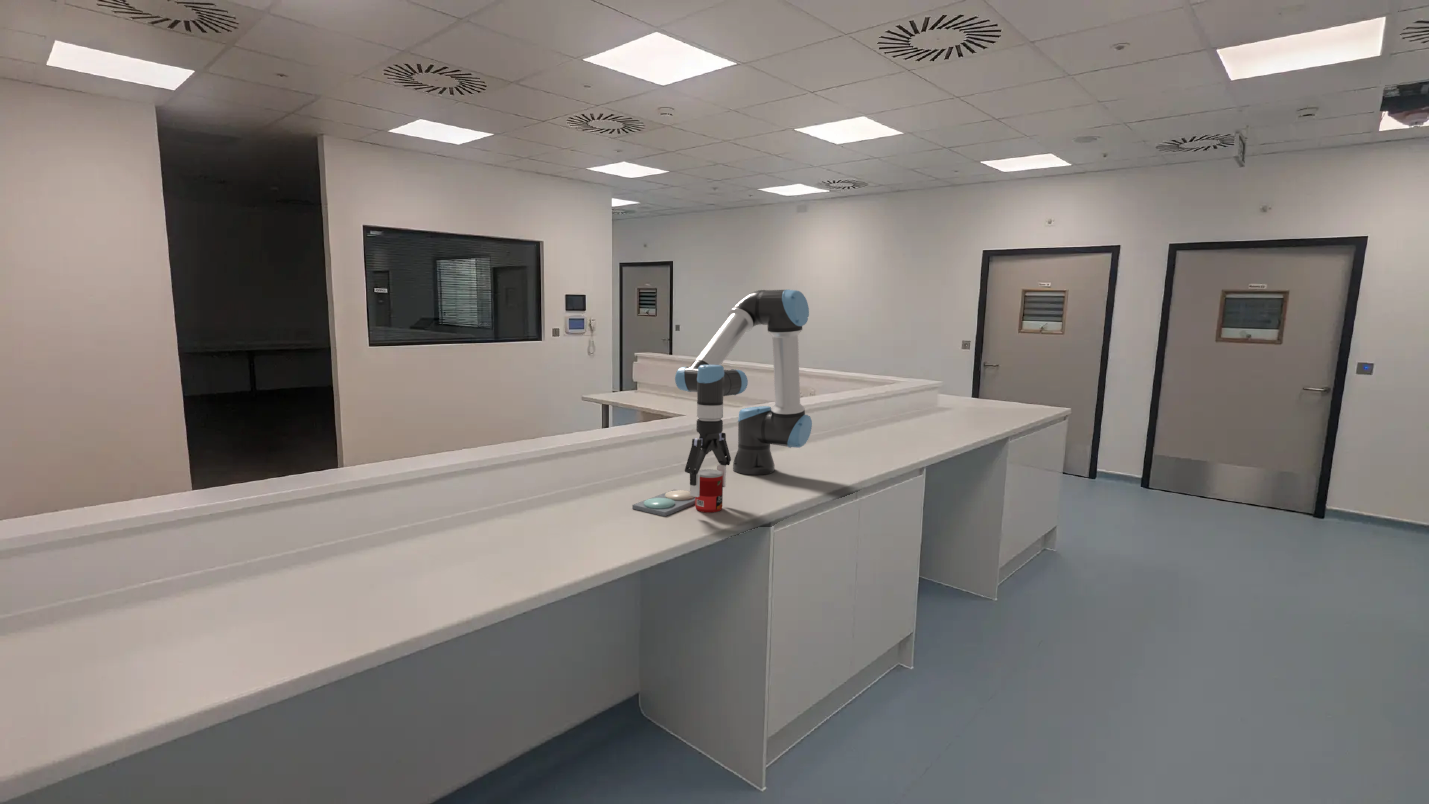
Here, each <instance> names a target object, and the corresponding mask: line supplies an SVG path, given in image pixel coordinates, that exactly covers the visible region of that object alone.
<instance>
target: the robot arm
mask: <svg viewBox="0 0 1429 804" xmlns="http://www.w3.org/2000/svg"><path fill="white" fill-rule="evenodd" d="M809 316H810V308H809V302H808V300H807V298H806V296H805V295H804V293H802V292H801V291H800V290H797V289H759V290H756V291H755V290H754V291H753V292H750V293H749V294H747V295H745V296H743V297H742V298H741V299H739V300H738V301H737V302H736V303H735V304H734V305H733V306H732V307H731V309H730V310H728V313H727V316H726V317H727V318H726V320H725V321H724V322H723V324H722V325H721V326H720V327H719V329H718V330H717V331H716V333H715V334H714V335H713V336H712V337H711V339H710V340H709V342H708V343H707V344H706V345H705V346H704V348H703V349H702V350H701V352H699V354H698V355H697V356H696V357H695V359H694V361H693V362H692V363H691V364H690V366H687V365H686V366H681V367H679V368H678V369H677V371H676V373H675V376H674V381H675V383H674V384H675V385H676V387H677V388H678V389H679V390H681V391H684V392H689V393H696V397H697V400H696V417H697V420H696V432H697V433H698V434H699V438H696V437H693V438H692V439H691V447H690V450H689V455H688V458H687V462H686V464H685V468H684V472H685V473H687V474H689V491H690V496H694V497H699V490H700V474H698V472H699V470H701V468H702V465H703V462H704V460H705V458H706V456H707V455H708V454H709V453H710V452H713V454H714V456H715V458H716V460H717V462H718V464H717V465H716V470H719V471H722V472H723V488H726V485H727V483H726V481H727V480H726V479H727V466H730V465H731V461H732V458H731V454H730V451H729V446H728V443H727V442H728V441H727V435H726V433H725V432H723V429H724V427H723V426H724V425H723V424H724V421H723V418H724V397H728V396H736V395H740V394H742V393H744V392H745V391H746V389H747V388H748V384H749V382H748V381H749V380H748V377H747V375H746V373H745V372H744V371H743V370H740V369H737V368H735V369H733V368H732V369H725V368H724V366H723V363H724V361H725V360H726V359H727V357H728V356H729V354H730V353H731V352H732V351H733V350H734V348H735V346H736V345H738V343H739V342H740V340H741V339H742V337H744V335H745V334H746V333H748V332H750V331H751V330H752V329H753V328H754V327H756V326H761V325H763V326H767V333H769V334H770V335H771V336H772V357H773V359H772V360H773V381H774V382H773V383H774V384H773V386H774V405H773V406H772V407H771V406H769V405H768V406H767V405H765V406H764V405H762V406H761V405H760V406H752V407H745V408H742V409H740V410H739V412H738V418H737V423H738V424H737V425H738V426H737V427H738V428H737V430H738V431H737V438H738V439H737V450H736V454H735V456H734V459H733V462H732V470H733V471H734V472H735V473H738V474H742V475H751V476H752V475H753V476H761V475H768V474H771V473H774V472H775V463H774V462H775V461H774V457H773V454H772V451H771V445H772V446H781V447H788V448H790V449H791V448H799V449H800V448H802V447H803V446H805V445H806V444H807V442H808V441H809V438H810V436H811V433H812V428H813V421H812V417H811V416H810V415H808V414H806V407H805V406H804V405H802V403H801V391H800V390H801V386H800V385H801V384H800V383H801V382H800V357H799V356H800V354H799V335H800V333H801V332H802V331H803V326H805V325H806V324H807V323H808V320H809Z"/></svg>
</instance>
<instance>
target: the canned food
mask: <svg viewBox="0 0 1429 804" xmlns="http://www.w3.org/2000/svg"><path fill="white" fill-rule="evenodd" d="M698 474H700V490H699V497H695V504H694V506H695V507H694V508H695V509H696V511H698V512H701V513H706V514H707V513H709V514H710V513H718V512H720V511H721V510H722V509H723V496H724V495H723V493H724V492H723V491H724V490H723V489H724V487H723V472H722V471H719V470H717V469H713V468H712V469H711V468H710V469H709V468H705V469H699V472H698Z"/></svg>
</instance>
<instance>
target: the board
mask: <svg viewBox="0 0 1429 804" xmlns="http://www.w3.org/2000/svg"><path fill="white" fill-rule="evenodd" d="M652 498H668V499H672V500H674V501H675V505H674V506H673V507H670V508H665V509H652V508H648V507H645V506H644V501H646V500H648V499H652ZM693 505H694V506H695V497H694V496H690V490H682V489H681V490H680V489H679V490H678V489H673V490H670V491H669V490H668V491H667V492H664V493H662V494H659V495H656V496H653V497H651V498H647V499H645V500H641V501H638V502H637V503H634V504H632V508H631V509H633V510H636V511H639V512H645V513H649V514H653V515H658V516H662V517H667V516H670V515H673V514H674V513H676V512H679V511H681V510H684V509H686V508H687V509H688V508H690V507H691V506H693Z"/></svg>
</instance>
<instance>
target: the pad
mask: <svg viewBox="0 0 1429 804" xmlns="http://www.w3.org/2000/svg"><path fill="white" fill-rule="evenodd" d="M651 498H652V497H651ZM647 499H648V500H647ZM647 499H645V500H646V501H644V500H643V501H644V506H645V507H648V508H652V509H665V508H670V507H673V506H674V505H675V501H674V500H672V499H668V498H652V499H650V498H647Z"/></svg>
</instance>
